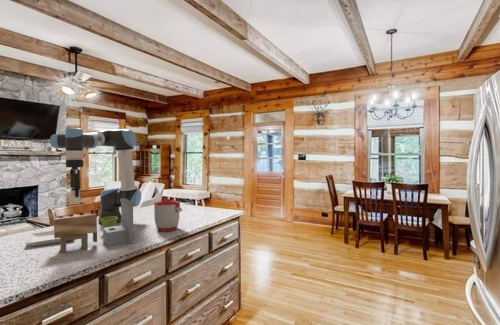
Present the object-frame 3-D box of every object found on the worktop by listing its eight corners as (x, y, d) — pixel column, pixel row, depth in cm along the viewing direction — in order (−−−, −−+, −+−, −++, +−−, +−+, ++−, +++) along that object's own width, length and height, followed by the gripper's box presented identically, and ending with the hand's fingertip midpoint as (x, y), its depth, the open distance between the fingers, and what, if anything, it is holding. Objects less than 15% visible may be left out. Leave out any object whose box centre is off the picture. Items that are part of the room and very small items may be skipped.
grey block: (102, 239, 156) (101, 200, 155) (125, 235, 163) (125, 198, 163) (108, 248, 141) (108, 205, 140) (134, 243, 148) (133, 202, 147)
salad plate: (25, 249, 140) (25, 242, 140) (31, 238, 158) (31, 232, 158) (75, 242, 152) (75, 236, 151) (75, 233, 170) (75, 227, 169)
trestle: (60, 248, 140) (60, 234, 139) (85, 244, 146) (85, 231, 146) (61, 253, 133) (61, 238, 133) (87, 248, 140) (87, 234, 140)
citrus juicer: (176, 233, 167) (175, 199, 166) (149, 232, 170) (148, 199, 169) (186, 226, 182) (186, 196, 182) (161, 225, 185) (161, 195, 185)
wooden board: (54, 247, 136) (53, 218, 136) (96, 240, 147) (95, 213, 147) (54, 248, 134) (54, 219, 133) (97, 241, 144) (96, 214, 144)
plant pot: (121, 231, 172) (121, 217, 171) (108, 235, 163) (107, 220, 163) (110, 229, 176) (110, 216, 175) (97, 233, 167) (96, 219, 167)
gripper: (63, 159, 147) (64, 199, 147) (67, 159, 127) (68, 206, 127) (80, 159, 151) (81, 198, 152) (86, 159, 131) (87, 204, 132)
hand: (75, 202), depth 139 cm, fingers open, 13 cm apart
